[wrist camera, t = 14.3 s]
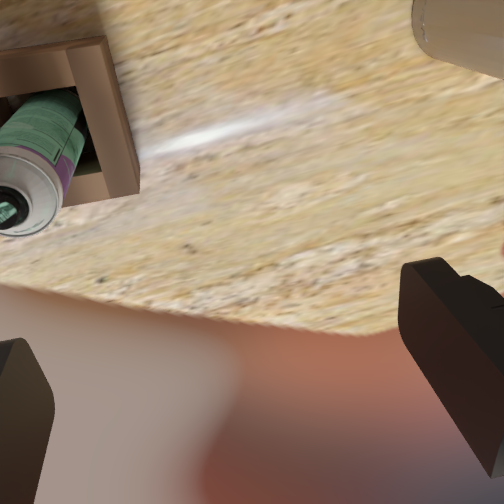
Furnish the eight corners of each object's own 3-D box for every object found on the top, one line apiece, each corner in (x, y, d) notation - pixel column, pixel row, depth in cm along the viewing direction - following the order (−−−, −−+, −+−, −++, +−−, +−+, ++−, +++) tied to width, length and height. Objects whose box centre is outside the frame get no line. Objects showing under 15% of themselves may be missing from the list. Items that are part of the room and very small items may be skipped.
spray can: (16, 129, 42) (-73, 238, 25) (38, 73, 40) (-43, 149, 23) (77, 157, 44) (33, 273, 27) (100, 105, 42) (69, 196, 25)
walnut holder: (105, 35, 39) (99, 44, 34) (140, 168, 45) (139, 193, 40) (-43, 57, 38) (-72, 70, 33) (14, 191, 44) (-3, 219, 39)
